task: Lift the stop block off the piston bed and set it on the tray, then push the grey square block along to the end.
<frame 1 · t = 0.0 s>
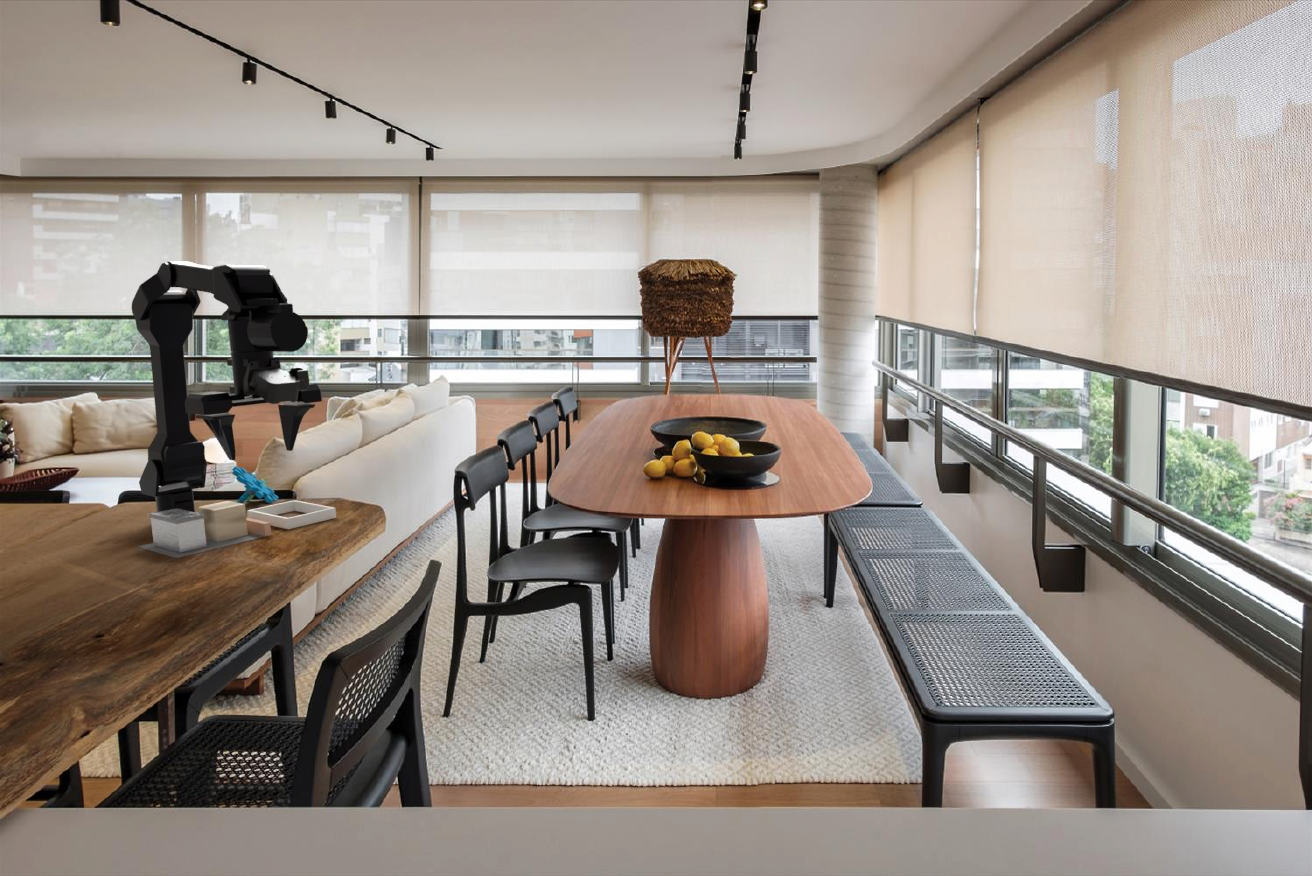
hand: (261, 455, 134), 15 cm above the table, fingers open, 9 cm apart
tray: (292, 523, 152), on the table
stop block: (224, 536, 142), point 1 cm above the table, touching piston bed
piston bed: (206, 545, 139), on the table
blue toy piece: (257, 505, 168), on the table
grey square block: (178, 530, 136), point 3 cm above the table, slide at 0.0 cm
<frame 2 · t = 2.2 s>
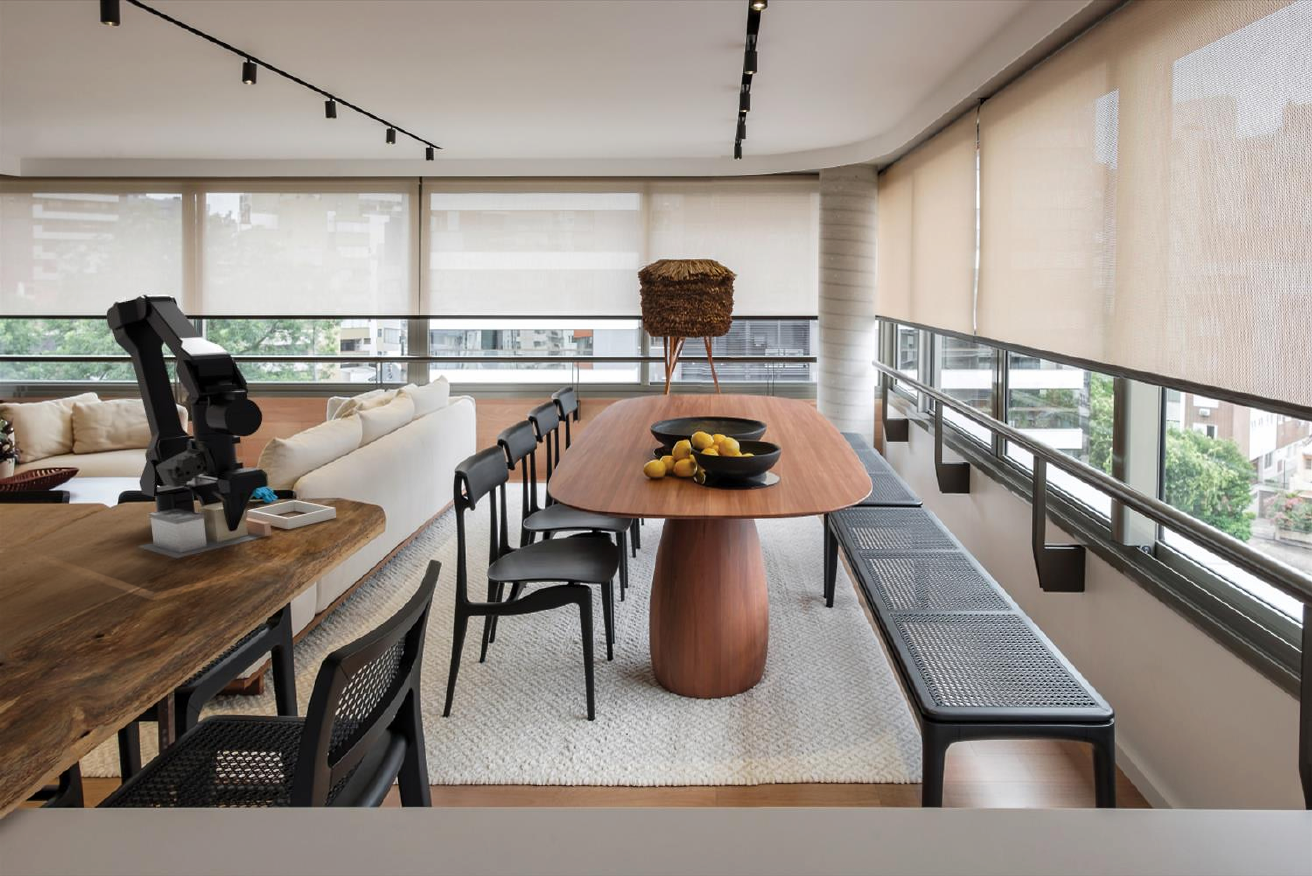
hand: (223, 528, 142), 2 cm above the table, fingers closed on stop block, 5 cm apart
stop block: (224, 536, 142), point 1 cm above the table, touching gripper, piston bed
everything else where it was.
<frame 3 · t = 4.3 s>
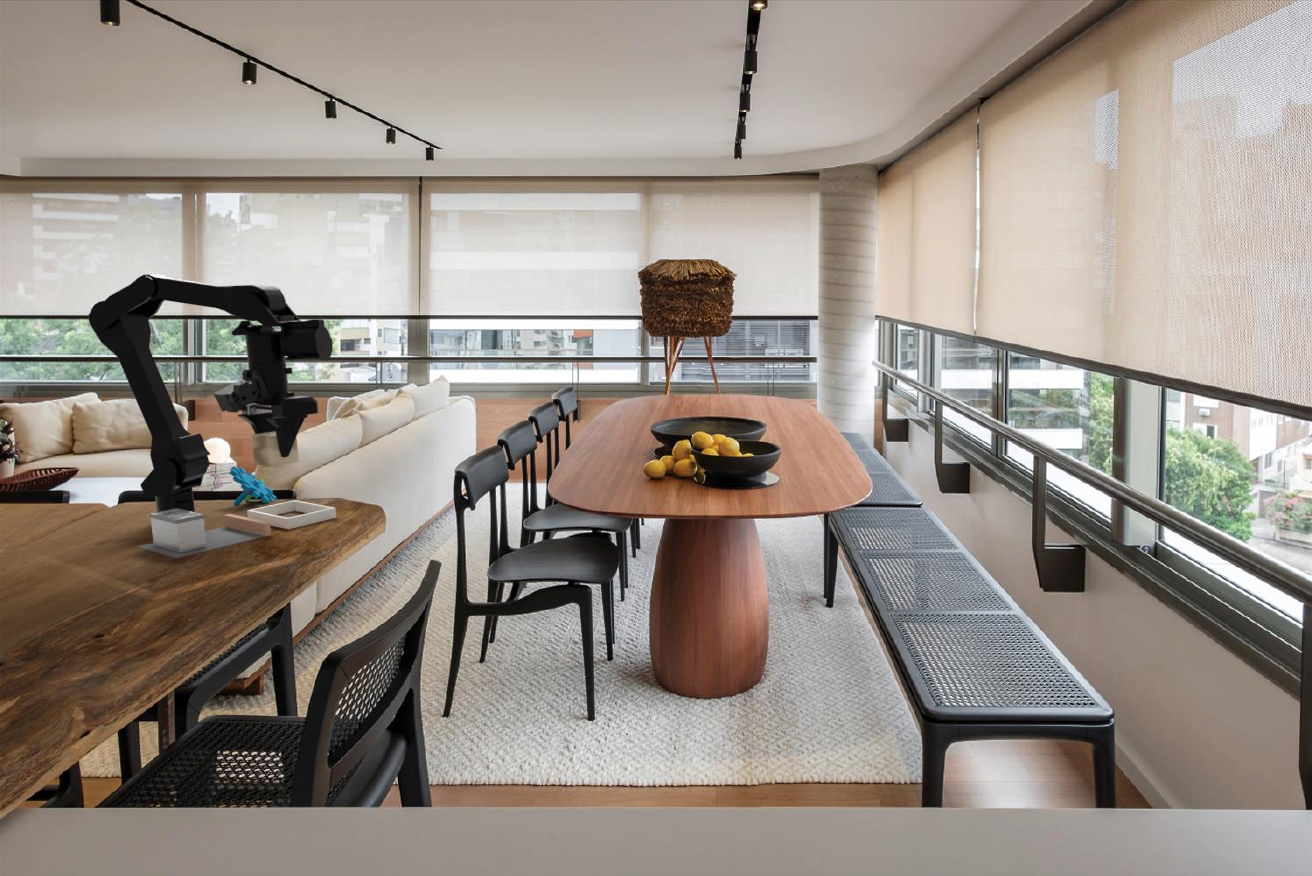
hand: (276, 455, 149), 12 cm above the table, fingers closed on stop block, 5 cm apart
stop block: (276, 463, 149), point 11 cm above the table, touching gripper
everything else where it was.
when the fingers open (3 cm above the table, at t = 6.5 s): stop block drops 1 cm, resting on tray.
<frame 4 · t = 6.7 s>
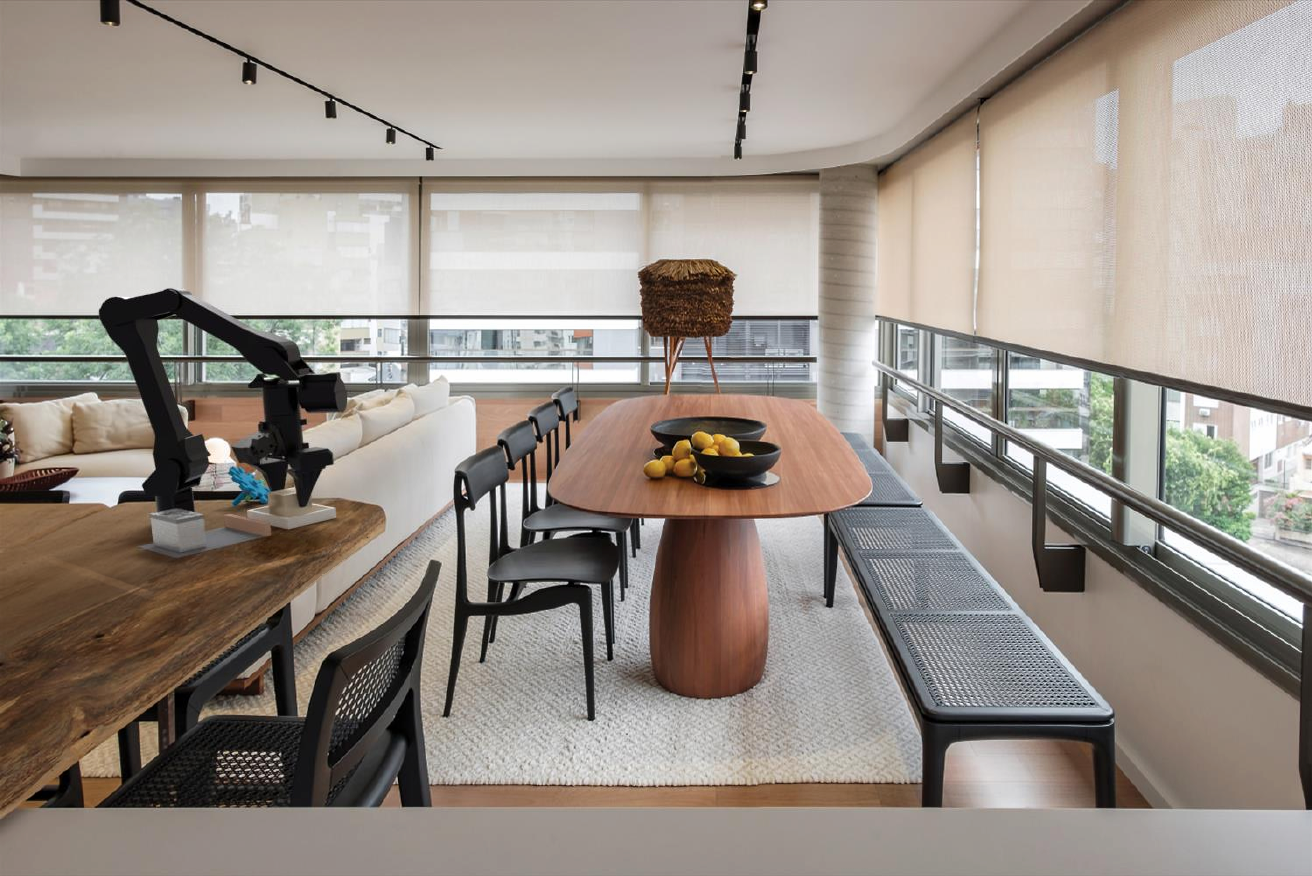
hand: (290, 504, 152), 3 cm above the table, fingers open, 7 cm apart
stop block: (291, 519, 152), point 1 cm above the table, touching tray
everything else where it was.
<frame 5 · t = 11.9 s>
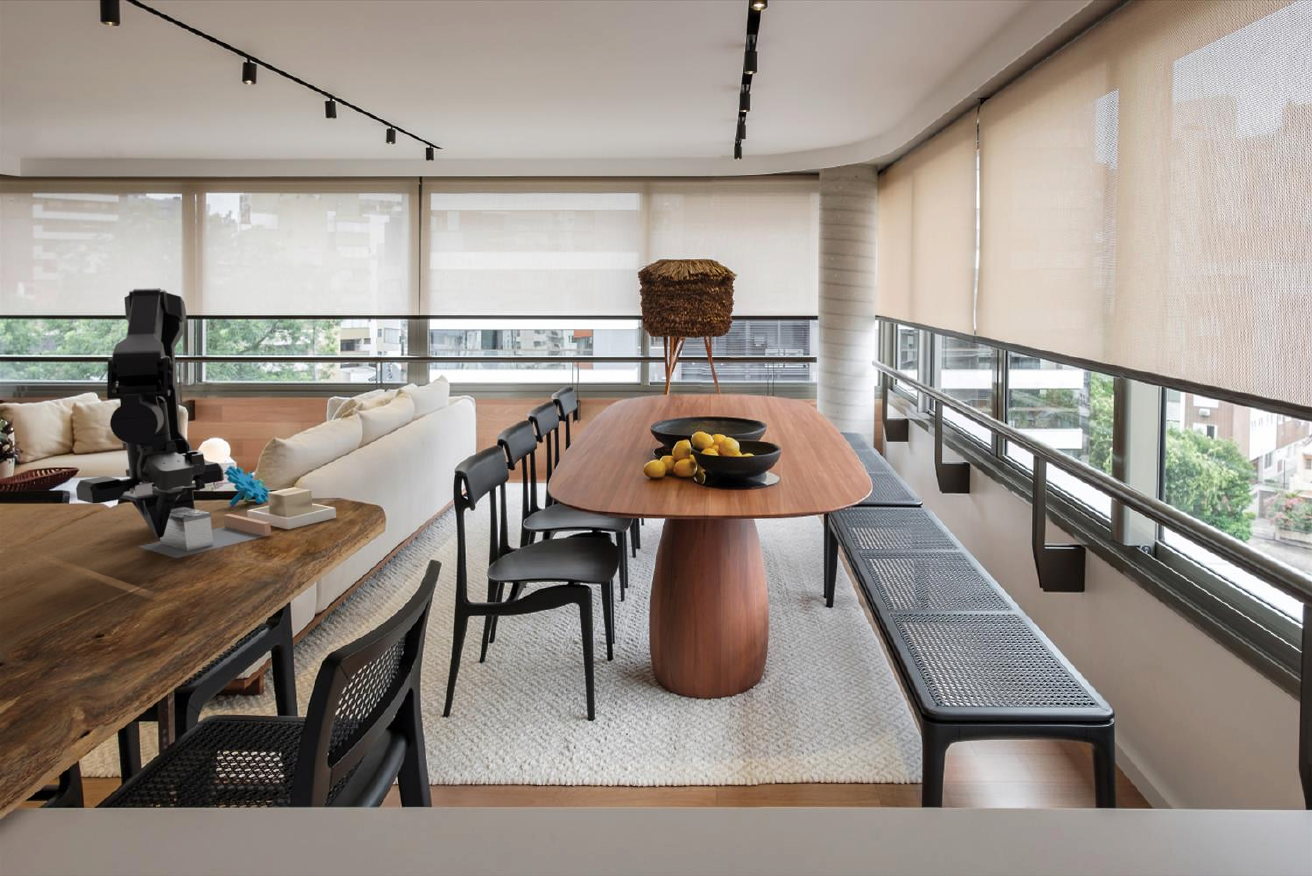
hand: (159, 537, 134), 3 cm above the table, fingers closed
grey square block: (185, 528, 137), point 3 cm above the table, slide at 1.1 cm, touching gripper
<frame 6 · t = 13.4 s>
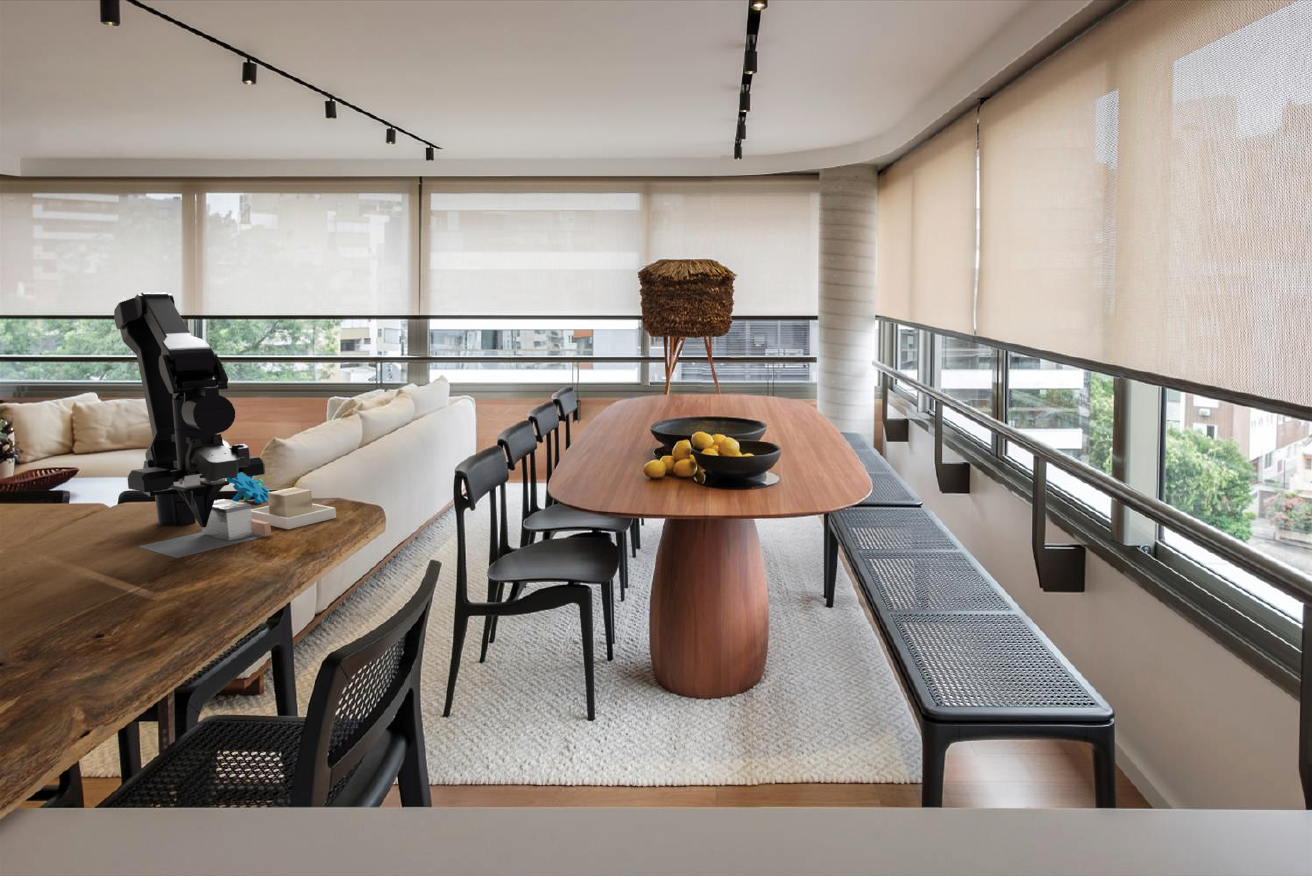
hand: (203, 527, 139), 3 cm above the table, fingers closed
grey square block: (226, 519, 142), point 3 cm above the table, slide at 7.6 cm, touching gripper
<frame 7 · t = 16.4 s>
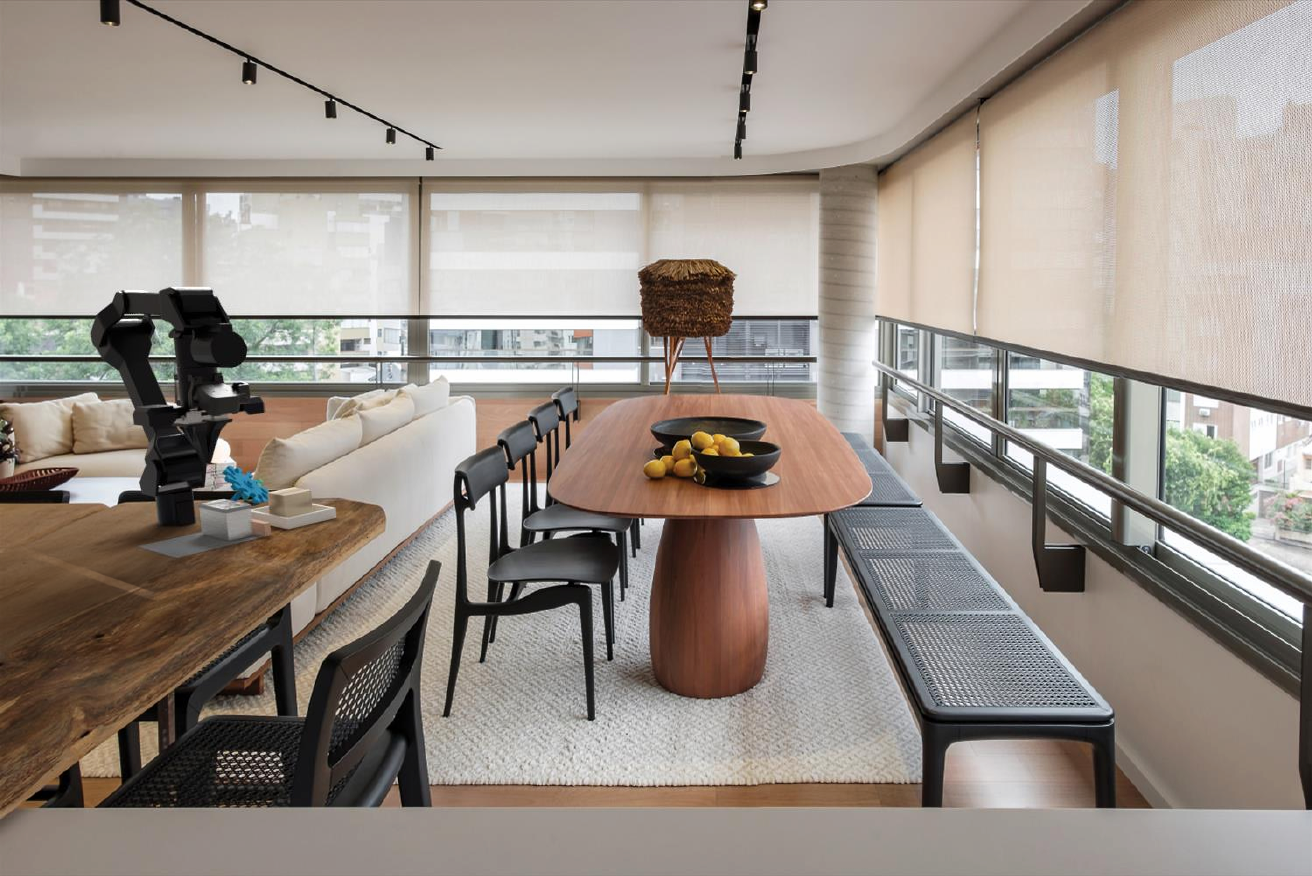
hand: (207, 463, 144), 12 cm above the table, fingers closed
grey square block: (226, 519, 142), point 3 cm above the table, slide at 7.5 cm
at the end: stop block inside the target area on the tray (0.0 cm from its centre), point 0.6 cm above the tray's base; stop block tilted 0°; grey square block slide at 7.5 cm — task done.
